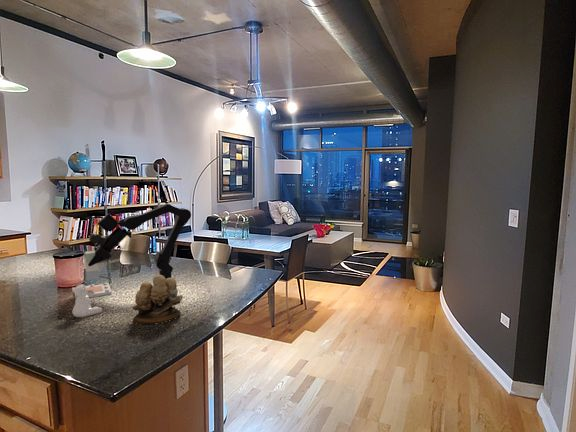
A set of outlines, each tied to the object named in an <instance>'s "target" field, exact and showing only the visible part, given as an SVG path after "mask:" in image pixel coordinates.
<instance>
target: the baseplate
mask: <svg viewBox="0 0 576 432" xmlns="http://www.w3.org/2000/svg"><path fill="white" fill-rule="evenodd" d="M84 286H85V287H86V289H87V290H88V294H87V295H88V296H89V298H94V297H101V296H108V295H112V288H111V286H110V283H108V282H104V283H101V284H94V283H92V284H90V285H84ZM77 297H78V296H77V295H76V294H75V293H74V299H75V300H76V299H77Z"/></svg>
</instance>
